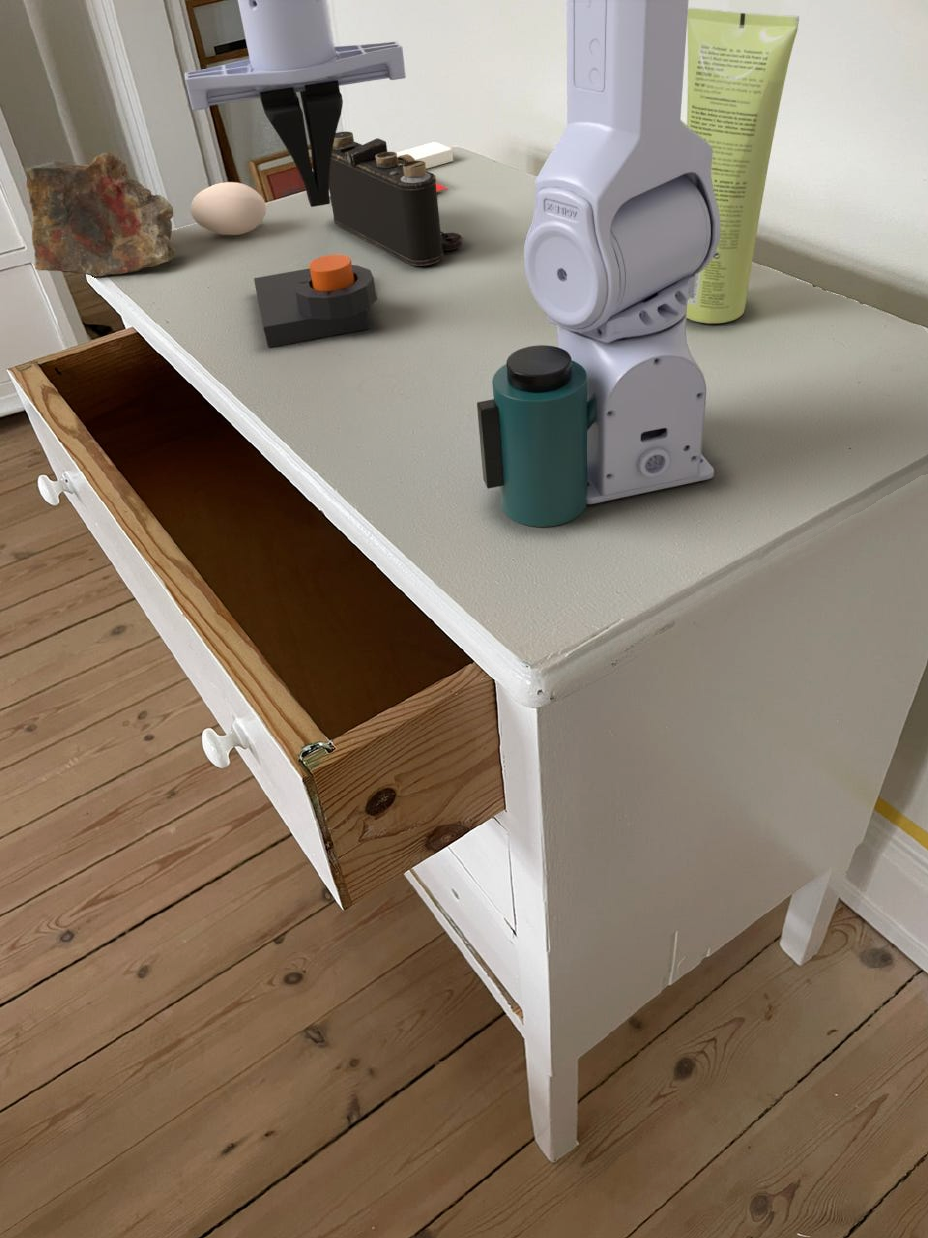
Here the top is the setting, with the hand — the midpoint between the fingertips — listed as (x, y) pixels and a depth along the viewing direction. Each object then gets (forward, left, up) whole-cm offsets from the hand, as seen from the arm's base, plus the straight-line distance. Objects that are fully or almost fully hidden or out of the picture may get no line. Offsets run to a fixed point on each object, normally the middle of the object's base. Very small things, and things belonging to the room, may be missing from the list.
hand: (319, 201), depth 71 cm
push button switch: (+3, +2, -9) cm, 10 cm away
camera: (+16, -8, -9) cm, 20 cm away
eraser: (+39, -16, -10) cm, 43 cm away
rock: (+25, +16, -10) cm, 31 cm away
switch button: (0, 0, -6) cm, 6 cm away
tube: (-10, -27, -10) cm, 30 cm away
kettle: (-29, -8, -9) cm, 31 cm away
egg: (+23, +3, -7) cm, 24 cm away
